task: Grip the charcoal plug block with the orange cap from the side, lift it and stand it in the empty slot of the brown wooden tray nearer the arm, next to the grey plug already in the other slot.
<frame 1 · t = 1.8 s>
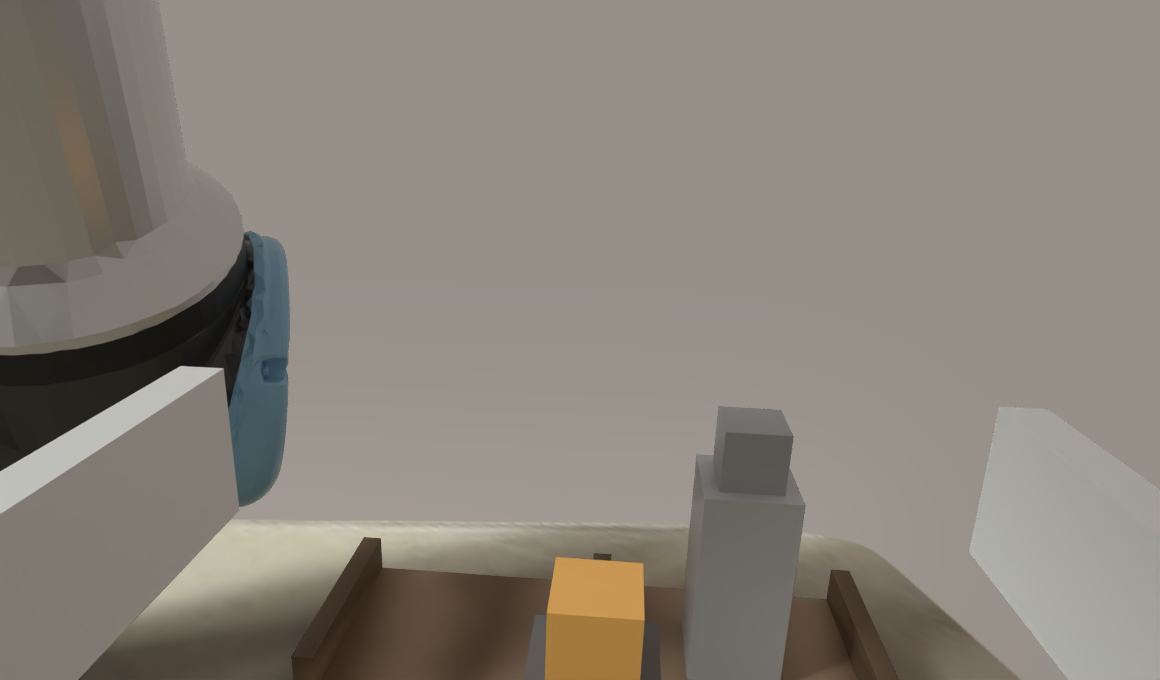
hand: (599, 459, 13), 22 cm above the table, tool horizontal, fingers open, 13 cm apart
brown wooden tray: (596, 657, 40), on the table
grey plug: (727, 651, 39), point 1 cm above the table, touching brown wooden tray
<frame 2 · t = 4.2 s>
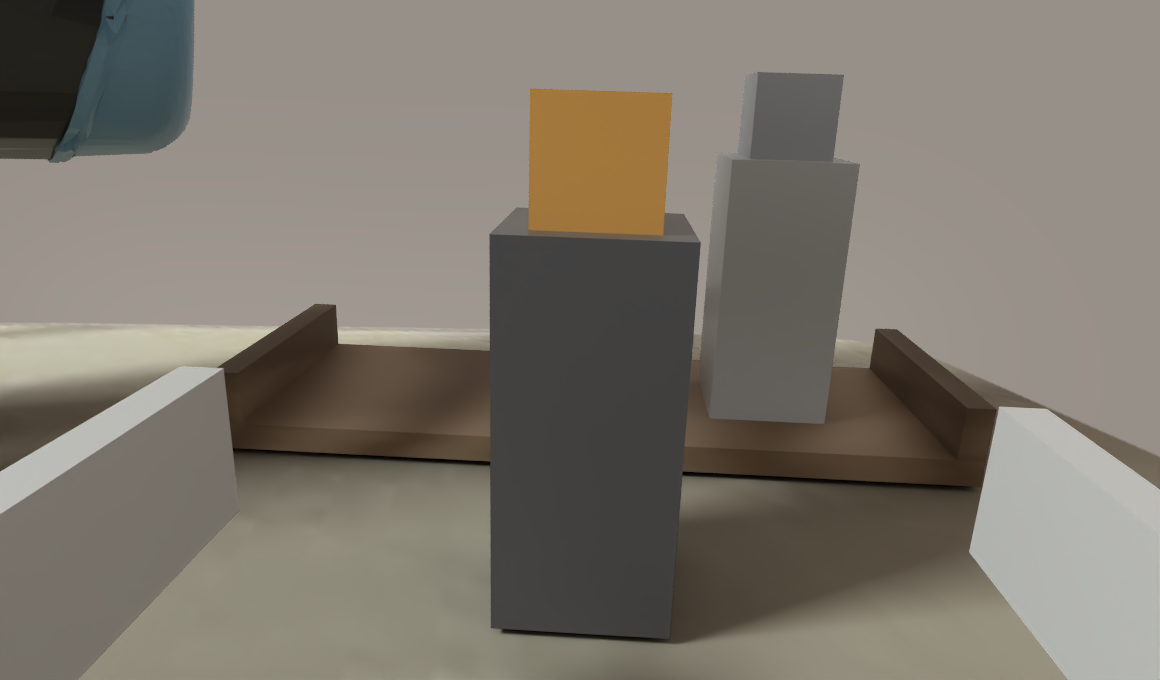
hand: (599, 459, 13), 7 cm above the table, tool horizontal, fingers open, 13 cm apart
charcoal plug: (583, 580, 21), on the table
brown wooden tray: (596, 414, 33), on the table
grey plug: (756, 400, 32), point 1 cm above the table, touching brown wooden tray
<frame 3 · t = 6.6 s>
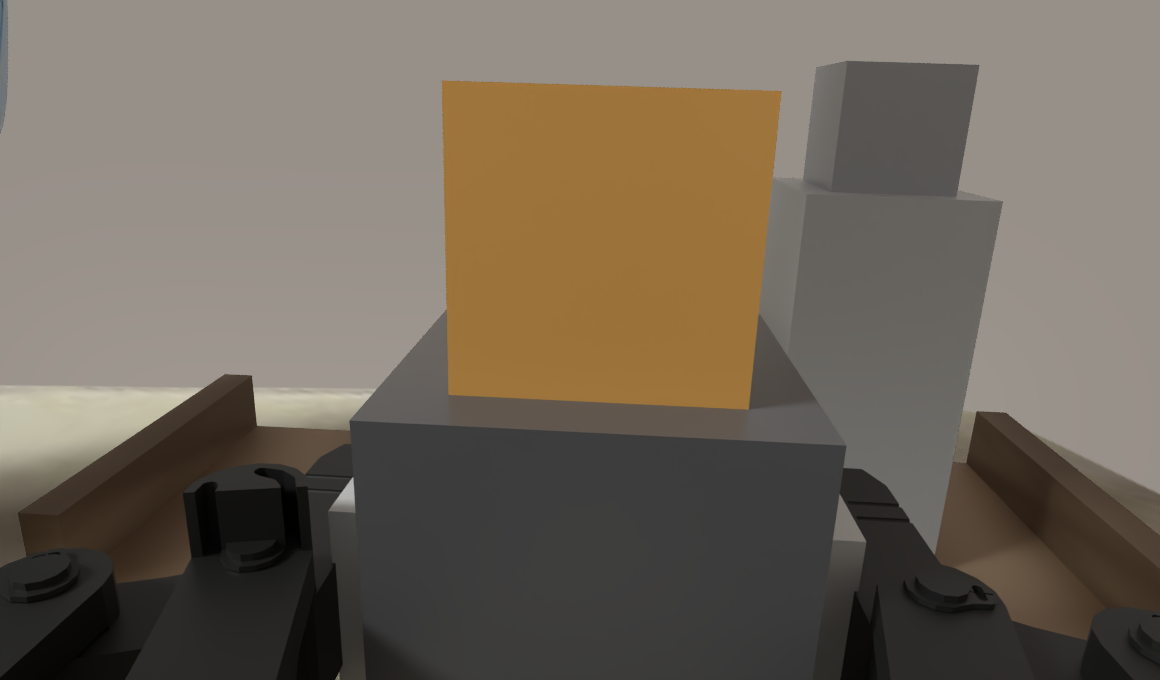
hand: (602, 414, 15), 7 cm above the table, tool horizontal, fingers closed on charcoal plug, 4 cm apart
brown wooden tray: (599, 542, 23), on the table
grey plug: (825, 526, 23), point 1 cm above the table, touching brown wooden tray
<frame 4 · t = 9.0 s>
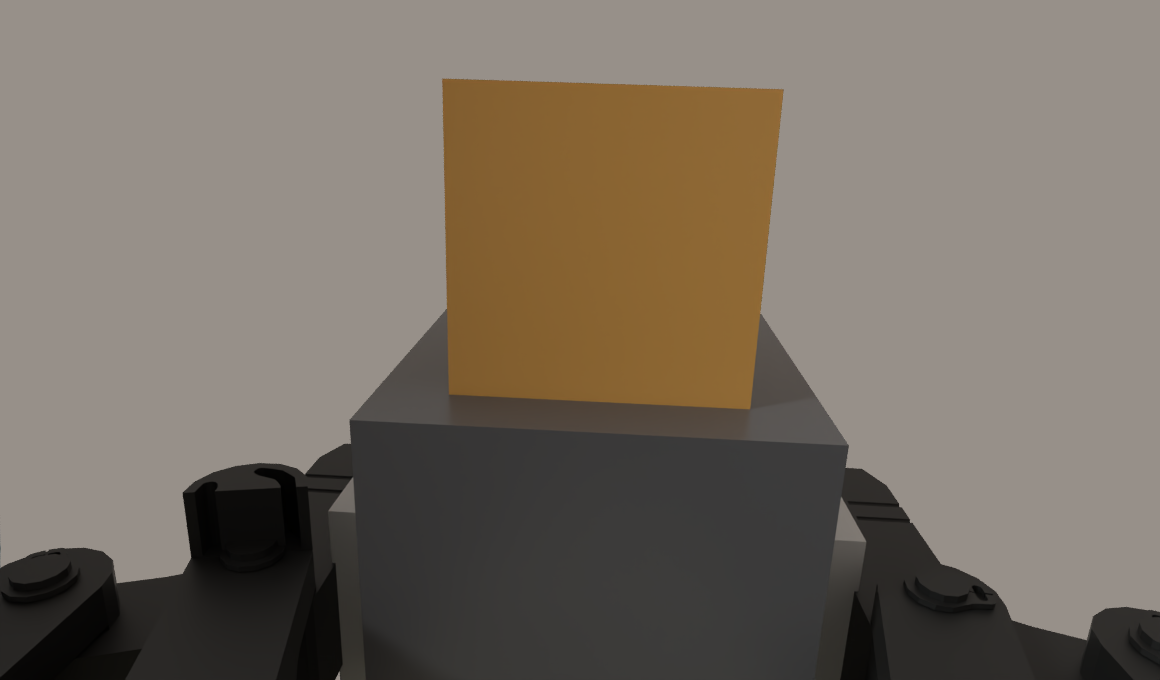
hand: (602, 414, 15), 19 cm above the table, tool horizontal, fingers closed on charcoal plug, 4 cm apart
when the fingers open (9 cm above the table, at t = 11.1 s): charcoal plug drops 1 cm, resting on brown wooden tray.
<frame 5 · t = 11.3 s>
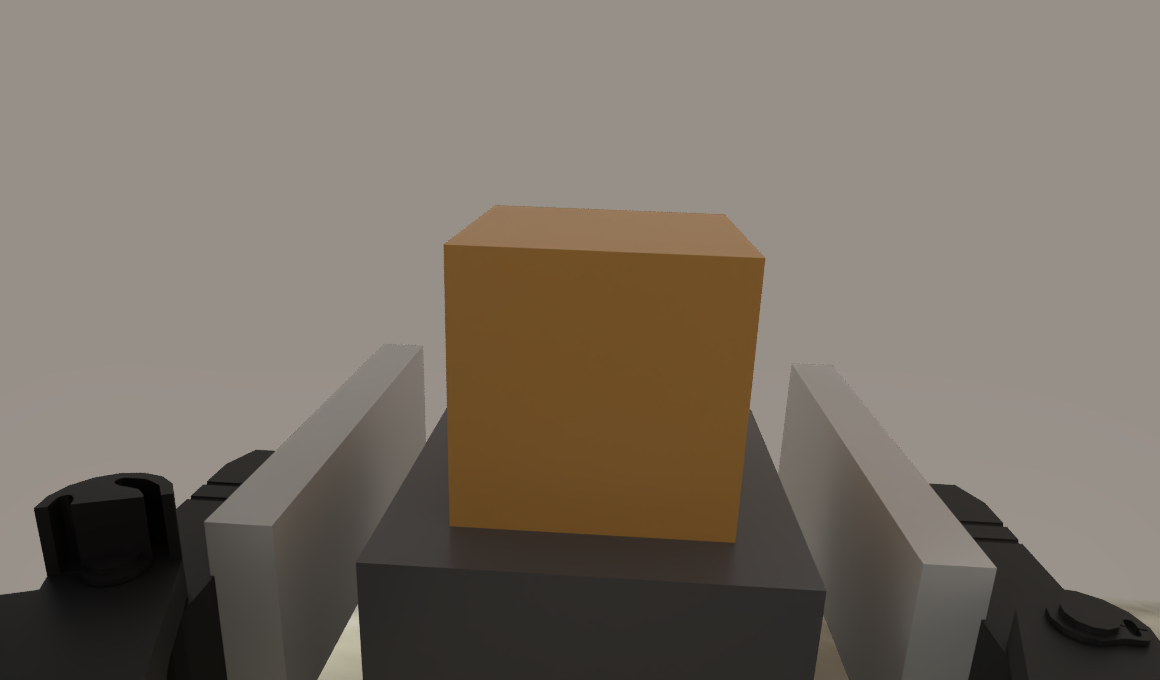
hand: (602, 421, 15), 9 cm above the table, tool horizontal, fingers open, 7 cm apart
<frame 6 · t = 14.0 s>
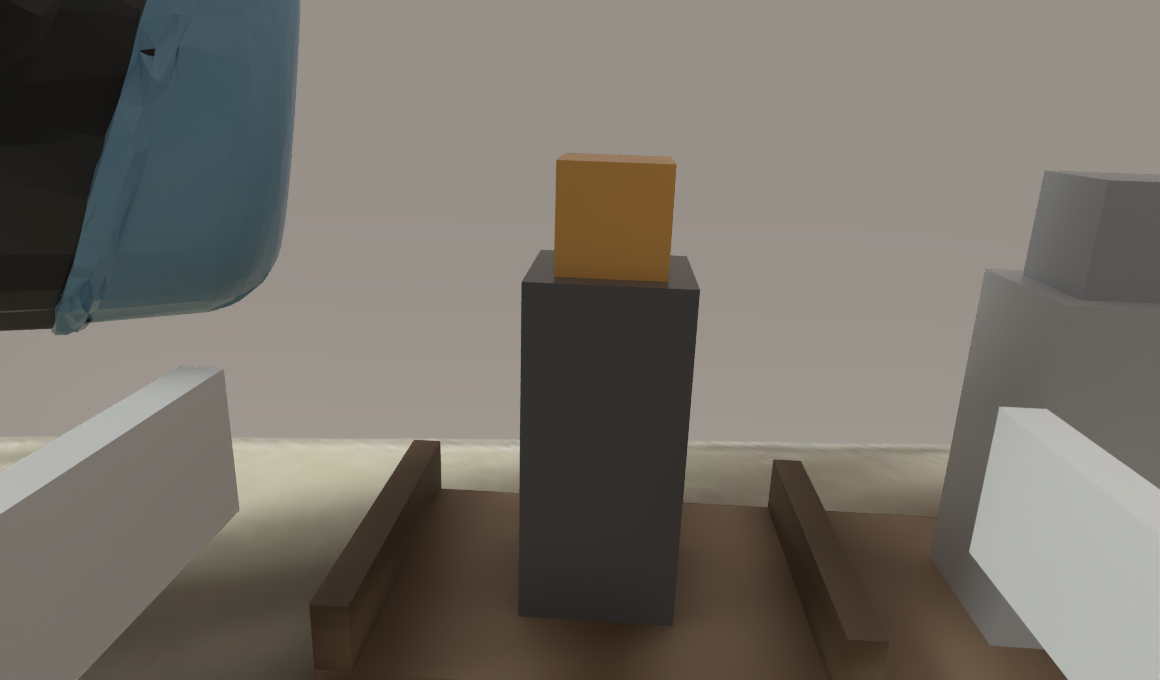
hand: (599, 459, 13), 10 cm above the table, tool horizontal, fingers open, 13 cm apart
charcoal plug: (598, 575, 24), point 1 cm above the table, touching brown wooden tray
brown wooden tray: (807, 614, 24), on the table
grey plug: (1030, 601, 24), point 1 cm above the table, touching brown wooden tray
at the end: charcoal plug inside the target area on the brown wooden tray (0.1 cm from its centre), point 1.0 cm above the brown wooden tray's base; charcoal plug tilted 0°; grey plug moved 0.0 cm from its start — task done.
